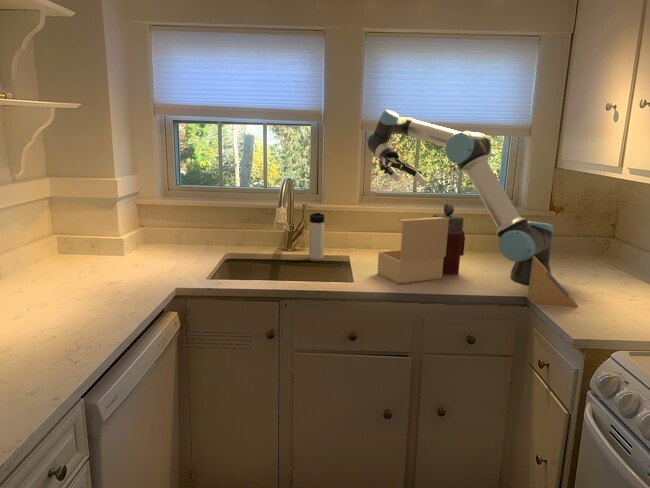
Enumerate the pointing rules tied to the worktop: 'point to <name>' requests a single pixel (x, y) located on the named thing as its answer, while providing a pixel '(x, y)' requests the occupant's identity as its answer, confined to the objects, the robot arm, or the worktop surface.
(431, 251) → the mailer lid
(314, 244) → the travel mug
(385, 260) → the mailer box
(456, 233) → the red grinder
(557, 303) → the sandwich container
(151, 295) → the worktop surface
